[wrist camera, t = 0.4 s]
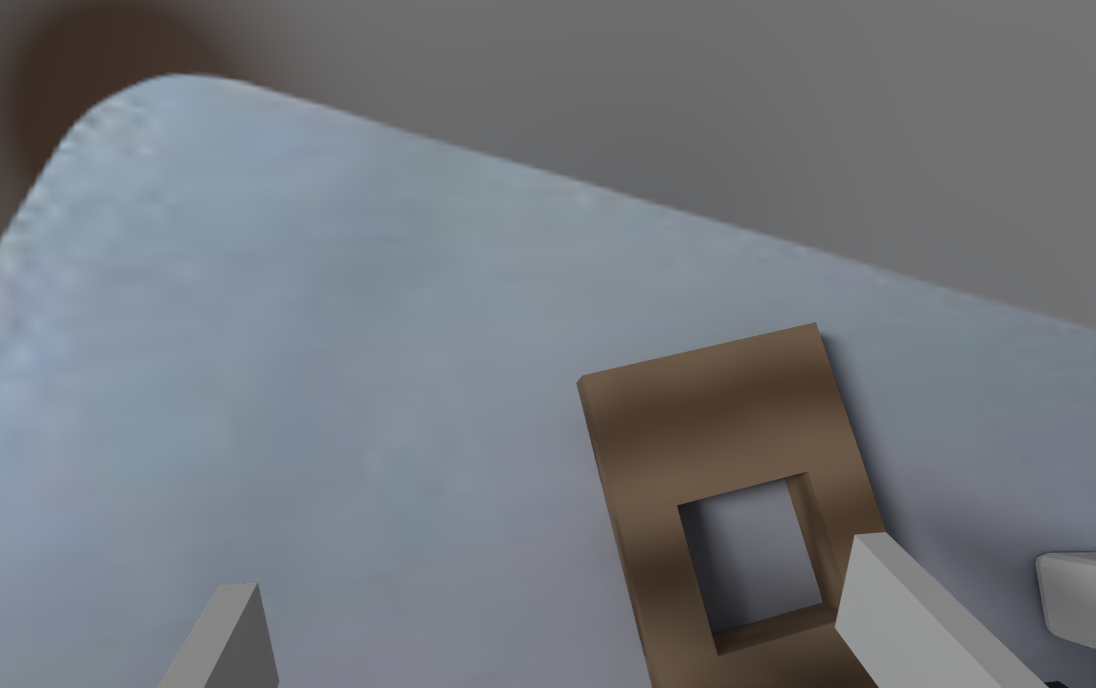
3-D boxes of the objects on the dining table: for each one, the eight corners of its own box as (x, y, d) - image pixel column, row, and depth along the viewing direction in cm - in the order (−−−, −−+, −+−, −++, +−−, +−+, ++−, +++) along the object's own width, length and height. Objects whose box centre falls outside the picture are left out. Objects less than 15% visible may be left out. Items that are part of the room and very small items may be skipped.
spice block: (922, 735, 27) (964, 762, 24) (683, 813, 25) (702, 850, 23) (791, 333, 30) (815, 322, 28) (576, 382, 29) (582, 375, 27)
